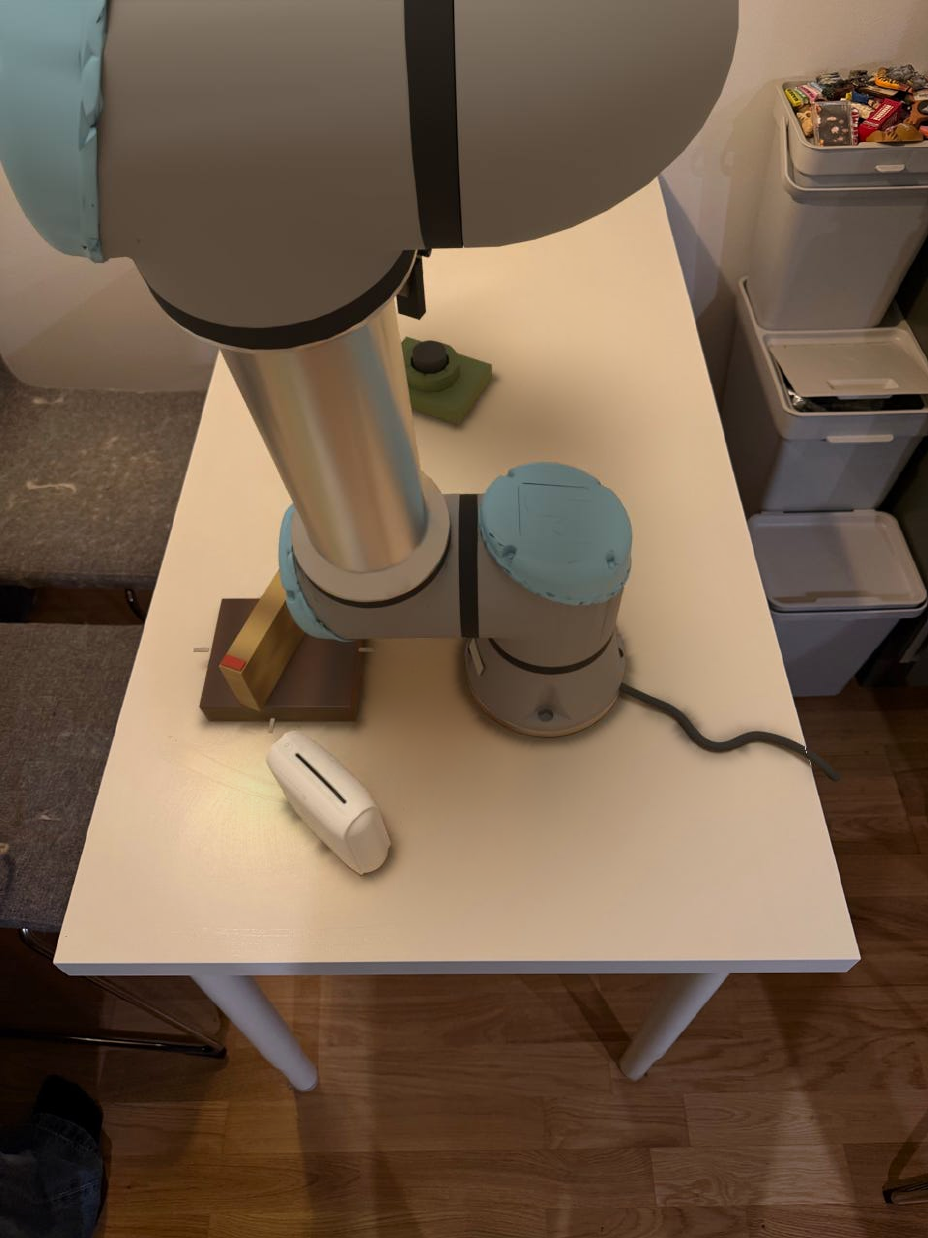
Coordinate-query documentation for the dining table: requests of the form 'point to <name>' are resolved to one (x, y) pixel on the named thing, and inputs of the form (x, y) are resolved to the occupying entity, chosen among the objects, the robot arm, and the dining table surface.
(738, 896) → the dining table surface
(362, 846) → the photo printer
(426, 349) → the button
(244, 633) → the golden wooden board
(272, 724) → the panel
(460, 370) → the button block
